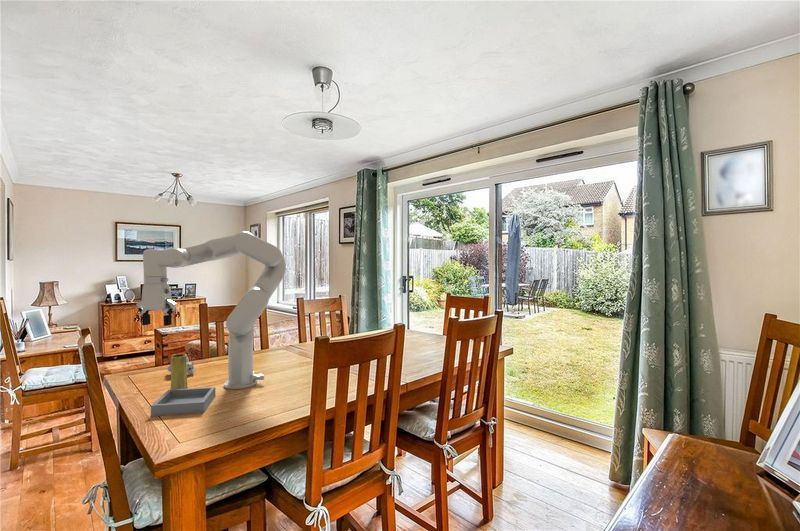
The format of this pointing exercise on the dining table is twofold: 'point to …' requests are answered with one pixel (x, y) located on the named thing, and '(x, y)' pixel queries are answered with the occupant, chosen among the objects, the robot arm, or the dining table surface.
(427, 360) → the dining table surface
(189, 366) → the chubby cartoon animal
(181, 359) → the vase
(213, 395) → the tray
